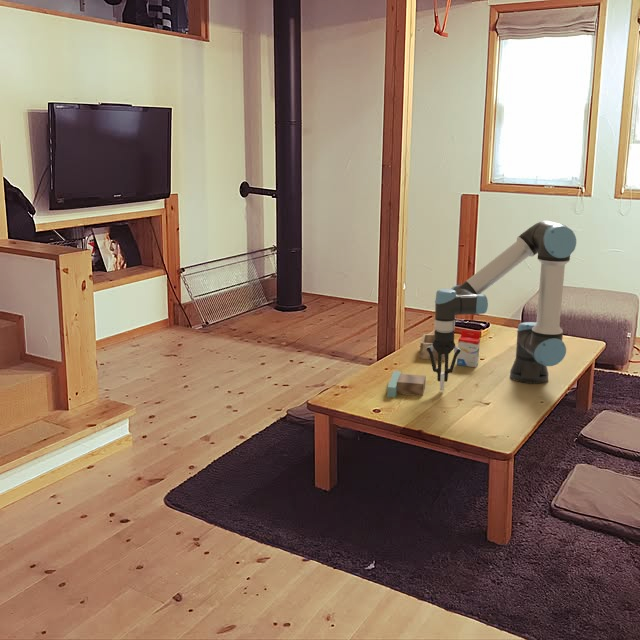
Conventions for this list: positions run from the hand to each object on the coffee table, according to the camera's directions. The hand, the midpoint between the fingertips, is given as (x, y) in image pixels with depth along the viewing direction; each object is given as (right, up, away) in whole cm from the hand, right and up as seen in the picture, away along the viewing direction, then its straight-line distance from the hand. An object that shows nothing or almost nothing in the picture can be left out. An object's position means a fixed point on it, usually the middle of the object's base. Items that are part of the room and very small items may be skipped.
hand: (442, 389), depth 302 cm
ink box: (+16, +7, +34) cm, 39 cm away
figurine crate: (+4, +11, +49) cm, 50 cm away
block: (-12, -1, +2) cm, 12 cm away
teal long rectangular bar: (-18, 0, +4) cm, 18 cm away
